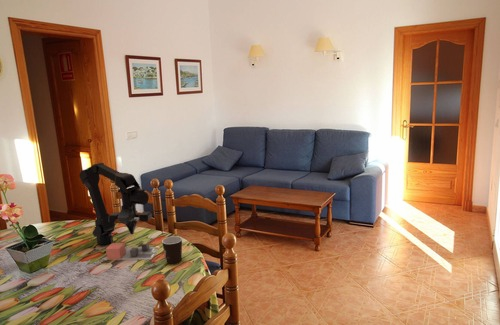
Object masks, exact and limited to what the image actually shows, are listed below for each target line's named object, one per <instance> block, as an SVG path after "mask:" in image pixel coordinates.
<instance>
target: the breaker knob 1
mask: <svg viewBox="0 0 500 325" xmlns="http://www.w3.org/2000/svg"><path fill="white" fill-rule="evenodd" d="M136 247H137V248H132V249H131V250H130V255H131V257H136V256H137V255H138V254H139V253H138V247H139V246H136Z"/></svg>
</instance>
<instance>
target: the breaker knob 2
mask: <svg viewBox="0 0 500 325" xmlns="http://www.w3.org/2000/svg"><path fill="white" fill-rule="evenodd" d="M140 247H142V251H147V250H148V249H149V247H150V241H143V242H142V243H141V246H140Z"/></svg>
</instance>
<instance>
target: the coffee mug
mask: <svg viewBox="0 0 500 325" xmlns="http://www.w3.org/2000/svg"><path fill="white" fill-rule="evenodd" d="M161 243H162V248H163V252H164V255H165V256H164V257H165V261H166V264H168V265H172V264H173V265H177V263H178V264H180V263H181V262H182V257H183V256H182V254H183V237H181V236H180V235H179V236H178V235H173V236H168V237H165V238H163V239H162V240H161ZM179 262H180V263H179ZM173 265H172V266H173Z"/></svg>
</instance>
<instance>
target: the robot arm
mask: <svg viewBox="0 0 500 325" xmlns="http://www.w3.org/2000/svg"><path fill="white" fill-rule="evenodd" d="M100 176H103V177H104V178H107V179H108V180H111V182H114V185H115V186H116V187H117V188H119V189H118V190H117V193H119V194H120V197H121V207H120V211H115V212H112V213H111V214H109V213H108V211H107V208H106V204H105V202H104V198H103V196H102V193H101V190H100V186H99V185H100V184H99V183H100V179H101V178H100ZM78 177H79V179H80V181H81V183H82V184H83V185H84V186H85V187H86V188H87V190H88V194H89V197H90V201H91V204H92V207H93V209H94V212H95V216H96V218H95V221H94V223H95V228H94V229H93V231H92V235H93V237H95V238H96V241H97V242H96V243H97V245H98V246H100V247H104V246H109V245H110V244H111V243H114V238H113V235H112V233H113V232H115V227H116V224H115V223H116V221H117V220H118V223H119V224H124V225H125V226H126V228H127V229H128V232H129V233H130V235H134V233H135V230H136V226H137V223H138V222H139V221H140V222H149V221H150V220H151V219H152V217H153V214H152V212H151V211H142V212H141V213H140V214H139V213H138V210H137V206H136V205H143V206H145V205H147V203H148V202H149V200H150V198H149V197H150V196H149V194H148V193H147V192H146V191H145V188H144V189H143V188H141V186H140V184H139V183H138V181H137V179H136V177H135V176H134V175H133V174H131V173H128V172H120V171H118V170H116V169H114V168H112V167H110V166H108V165H107V164H105V163H103V162H98V163H94V164H92V165H91V166H89V167H87V168H86V169H82V170H81V171H80V172H79V176H78ZM137 213H138V214H137Z"/></svg>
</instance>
